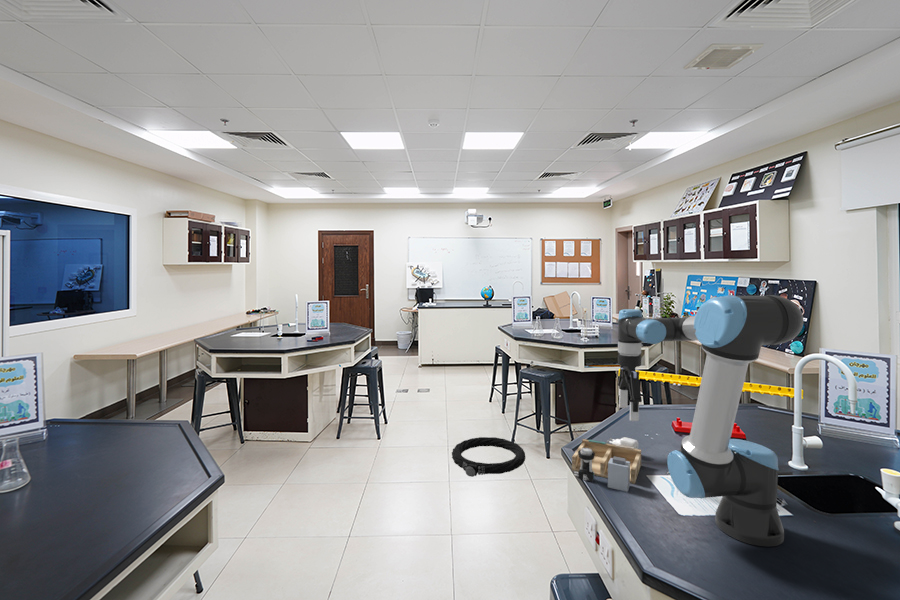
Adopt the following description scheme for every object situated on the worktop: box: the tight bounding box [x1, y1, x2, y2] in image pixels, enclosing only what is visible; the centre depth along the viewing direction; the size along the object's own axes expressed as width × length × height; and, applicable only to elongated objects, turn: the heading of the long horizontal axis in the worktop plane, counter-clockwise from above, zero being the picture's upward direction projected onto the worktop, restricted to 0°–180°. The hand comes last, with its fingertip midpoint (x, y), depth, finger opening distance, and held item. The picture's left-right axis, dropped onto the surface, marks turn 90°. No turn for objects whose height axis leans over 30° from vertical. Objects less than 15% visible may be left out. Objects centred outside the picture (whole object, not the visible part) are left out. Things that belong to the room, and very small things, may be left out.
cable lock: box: [451, 436, 526, 478], centre depth 161 cm, size 28×4×30 cm
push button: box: [573, 448, 595, 483], centre depth 145 cm, size 7×5×10 cm
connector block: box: [607, 456, 631, 493], centre depth 139 cm, size 4×6×9 cm
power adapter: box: [606, 436, 639, 449], centre depth 165 cm, size 11×5×6 cm, turn 44°
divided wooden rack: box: [571, 438, 642, 485], centre depth 152 cm, size 16×20×6 cm
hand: (628, 413), depth 151 cm, fingers open, 13 cm apart
